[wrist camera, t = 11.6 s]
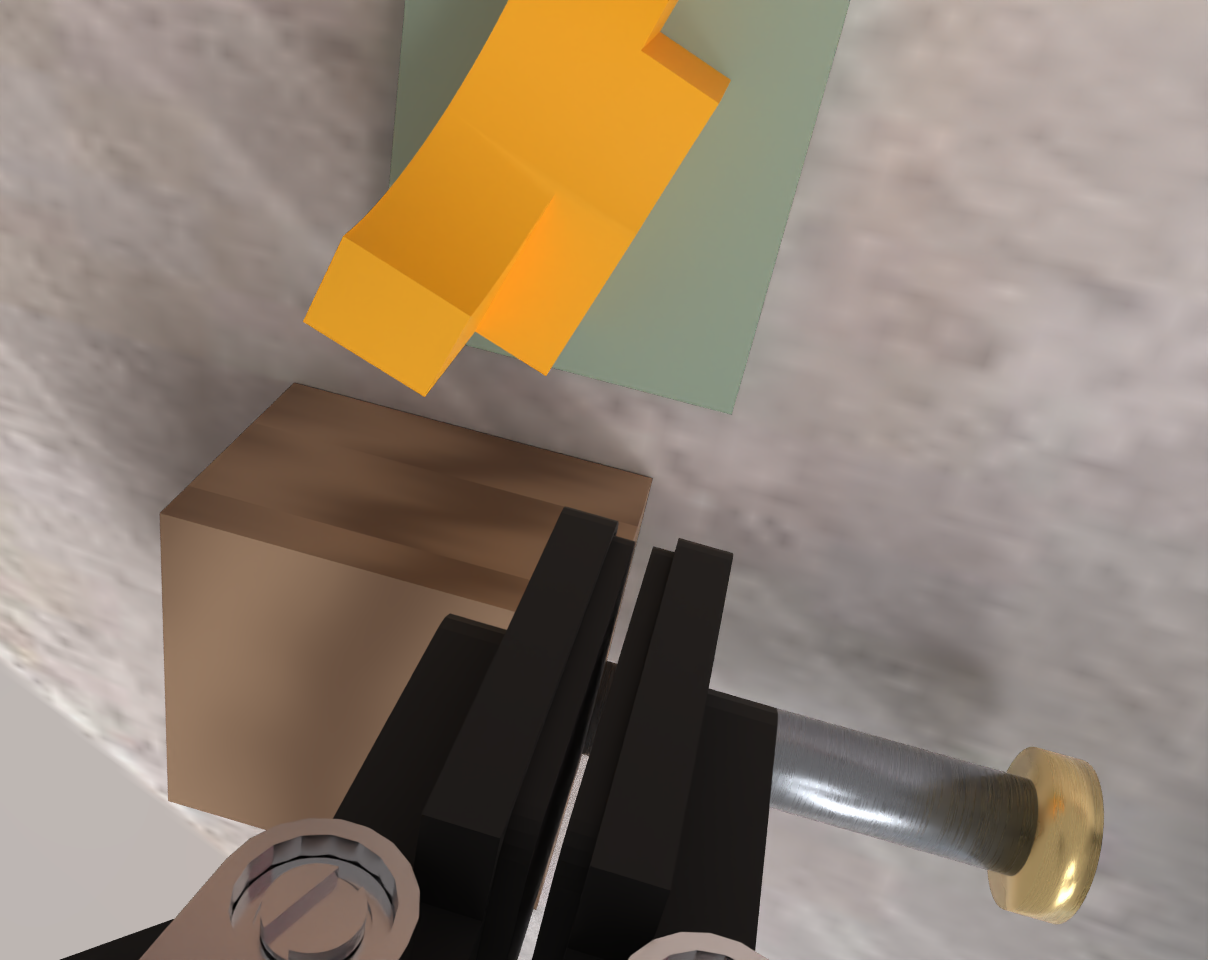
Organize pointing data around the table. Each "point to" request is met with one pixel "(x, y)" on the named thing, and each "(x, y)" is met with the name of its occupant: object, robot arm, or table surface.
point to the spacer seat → (671, 187)
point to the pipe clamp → (521, 190)
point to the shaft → (944, 806)
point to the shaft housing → (340, 587)
